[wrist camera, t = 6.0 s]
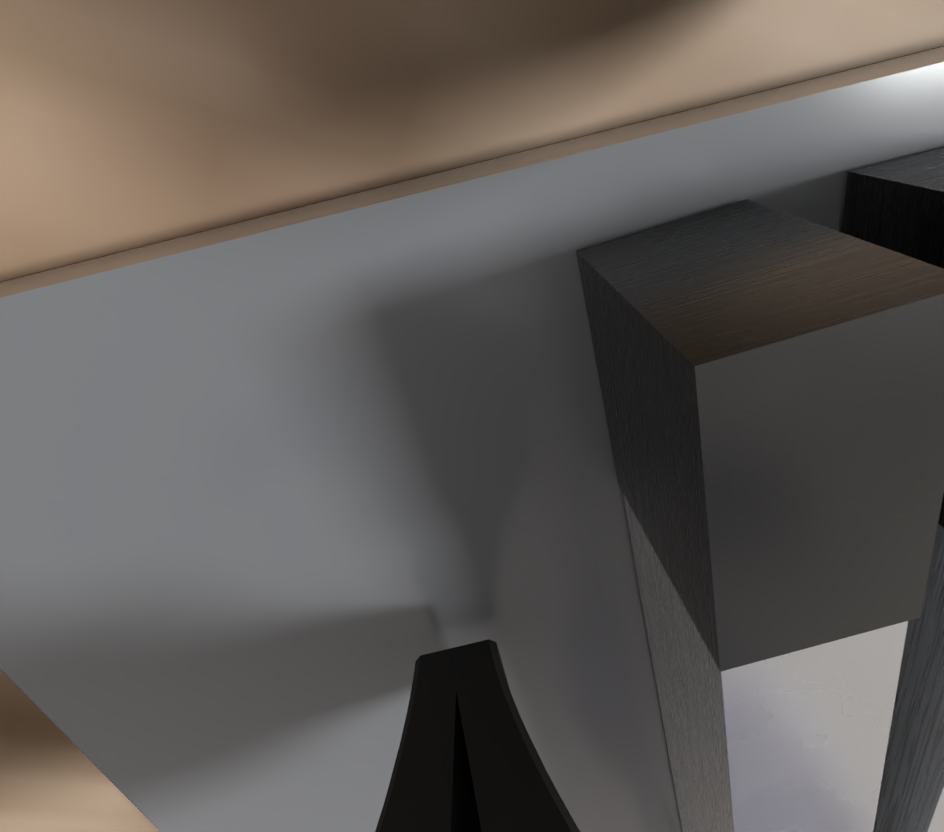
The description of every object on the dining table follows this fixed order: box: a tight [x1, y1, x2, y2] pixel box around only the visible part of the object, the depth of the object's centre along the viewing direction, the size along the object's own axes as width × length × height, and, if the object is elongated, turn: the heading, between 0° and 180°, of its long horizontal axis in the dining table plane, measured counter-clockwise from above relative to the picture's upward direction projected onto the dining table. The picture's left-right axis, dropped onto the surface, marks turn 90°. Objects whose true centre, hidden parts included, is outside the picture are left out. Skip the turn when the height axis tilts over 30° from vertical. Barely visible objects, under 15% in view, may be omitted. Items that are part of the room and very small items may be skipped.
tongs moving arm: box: [576, 199, 944, 832], centre depth 11 cm, size 18×2×4 cm, turn 15°
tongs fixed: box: [842, 148, 944, 832], centre depth 12 cm, size 24×5×5 cm, turn 12°
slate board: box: [0, 46, 944, 832], centre depth 14 cm, size 23×19×1 cm
